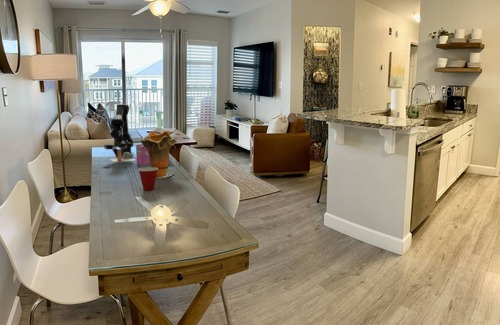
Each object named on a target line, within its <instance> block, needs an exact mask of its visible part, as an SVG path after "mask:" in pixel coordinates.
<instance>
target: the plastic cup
mask: <svg viewBox="0 0 500 325" xmlns="http://www.w3.org/2000/svg"><path fill="white" fill-rule="evenodd" d="M157 170H158V168H155V167H150V166H149V167H148V166H147V167H140V168H139V167H138V169H137V171H138V173H139V176H140V181H141V184H142V185H141V186H142V189H143V191H146V192H150V191H154V190H155V188H156V187H155V185H156V173H157Z"/></svg>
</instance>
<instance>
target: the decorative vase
mask: <svg viewBox="0 0 500 325" xmlns="http://www.w3.org/2000/svg"><path fill="white" fill-rule="evenodd" d="M140 142H141V144H143V146H144V147H146V148H147V149H148V152H149V158H150V164H149V165H150V166H149V167H155V168H158V170H157V173H156V179H161V180H162V179H168V178H167V177H163V176H166V174H167V172H168V170H169V173H172V172H171V170H170V161H169V159H170V150H171V148H172V147H173V146H174V145H176V143H177V139H176V138H175V137H173V136H172V135H171V133H170V130H165V131H163V132H162V133H156V132H155V131H154V130H151V131H150V132H149V133H148V135H146V136H145V137H143V138H141V141H140ZM170 176H172V175H170ZM170 176H168V177H170ZM172 177H173V176H172ZM170 178H171V177H170Z"/></svg>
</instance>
